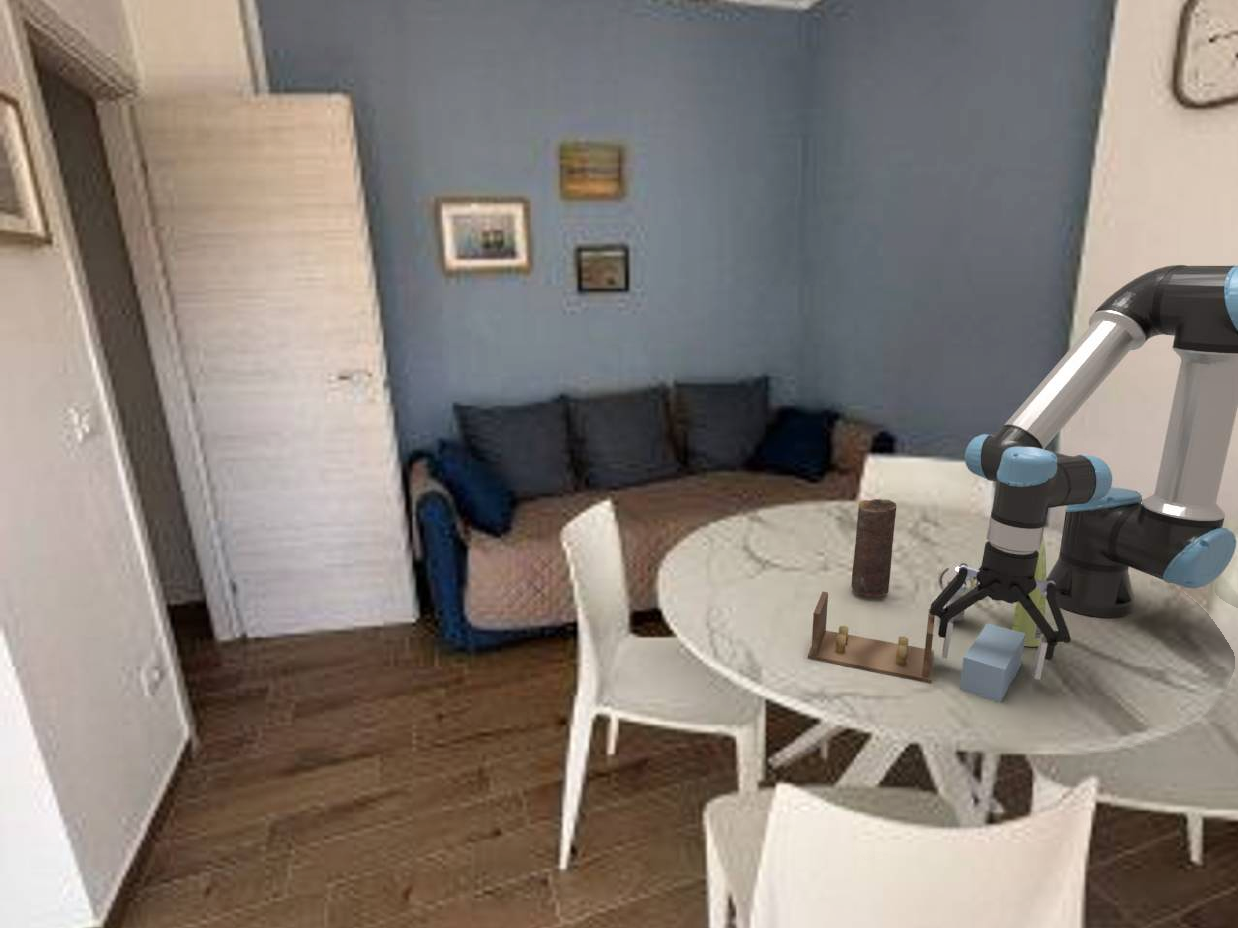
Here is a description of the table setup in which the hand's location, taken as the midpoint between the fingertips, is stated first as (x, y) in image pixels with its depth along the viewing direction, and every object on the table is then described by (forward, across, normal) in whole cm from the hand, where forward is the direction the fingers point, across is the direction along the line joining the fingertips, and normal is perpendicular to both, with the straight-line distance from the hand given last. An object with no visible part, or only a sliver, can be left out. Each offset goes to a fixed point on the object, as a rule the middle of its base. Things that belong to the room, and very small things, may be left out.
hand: (989, 664), depth 121 cm
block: (+2, -1, 0) cm, 3 cm away
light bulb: (+2, +6, -18) cm, 19 cm away
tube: (+2, -6, -15) cm, 17 cm away
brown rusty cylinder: (+3, +22, -24) cm, 33 cm away
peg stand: (+3, +18, +1) cm, 19 cm away
